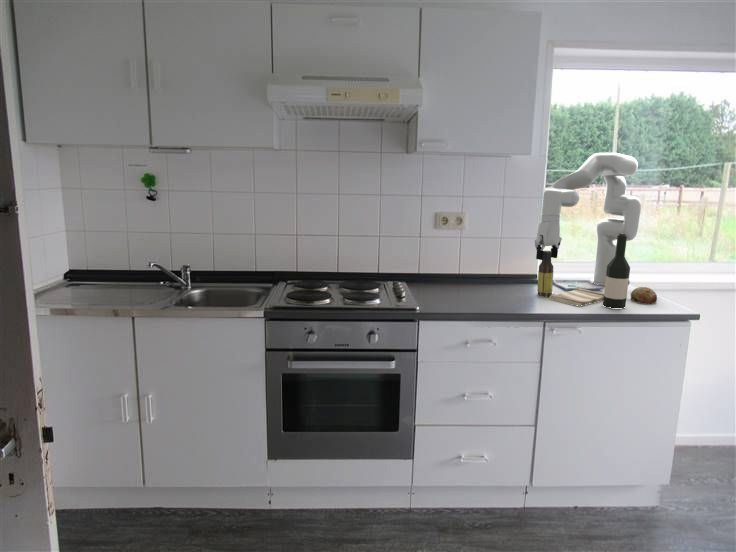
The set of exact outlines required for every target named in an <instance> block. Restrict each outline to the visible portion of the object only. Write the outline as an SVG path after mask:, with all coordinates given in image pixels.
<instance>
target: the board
mask: <svg viewBox="0 0 736 552" xmlns="http://www.w3.org/2000/svg"><path fill="white" fill-rule="evenodd" d="M603 298H604V292H599V291H596V290H595V291H594V290H589V289H585V288H580V287H579V288H576V289H573V290H570V291H565V292H561V293H557V294H555V293H554V294H553V293H552V295H550V297H549V300H552V301H555V302H559V303H562V302H563V304H566V303H568V305H570V304H573V305H572V306H574V305H578V306H581V305H584V306H586V305H585V304H588V305H590V304H589V303H592V304H594V302H596V303H599V302H603ZM598 301H599V302H598ZM578 306H577V307H578ZM581 307H582V306H581Z"/></svg>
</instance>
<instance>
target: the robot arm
mask: <svg viewBox="0 0 736 552" xmlns="http://www.w3.org/2000/svg"><path fill="white" fill-rule="evenodd" d="M638 167H639V163H638V161H637V158H635V157H633V156H631V155H627V154H623V153H619V152H596V153H593V154H592V155H590V156H589V157H588V158H587V160H585V161H584V163H583V164H582V165H581V166H580V167H579V168H578V169H577V170H576V171H574V172H572V173H570V174H567V175H565V176H563V177H561V178H559V179H557V180H556V181H555V182H554V183H553V184H552V185H551V186H549V188H548V189H546V190H544V192H543V198H542V199H543V200H542V207H541V209H542V210H541V218H540V219H541V220H540V222H539V226H538V229H537V234H536V239H535V240H534V245H535V250H536V256H535V260H539V261H542V260H543V256H544V251H545V248H546V247H549V246H550V251H552V255H551V259H557V258H558V254H559V253H558V252H559V249H560V247H561V246H560V245H561V243H562V240H563V238H562V237H561V236H560V235H561V225H560V224H561V223H560V222H561V214H562V212H561V211H562V208H571V207H575V206H576V205H577V204H578V203H579V201H580V195H579V193H578V192H577V191H576V190H577V189H582V188H586V187H590V186H591V185H592V183H594V182H595V181H596V179H598V178H599V176H600V175H602V177H603V178H604V181H605V185H606V187H605V195H604V201H603V212H604V213H605V214H607V215H609V216H616V217H623V219H622V218H621V219H620V218H613V217H605V218H603V219H600V220H599V221H598V224H597V227H596V233H597V234H596V235H597V248H596V254H595V255H596V256H595V263H594V264H595V266H594V276H593V278H590V280H589V282H590V281H591V282H593V283H595V284H594V285H596V284H598V285H597V286H601V287H605V281H606V272H607V265H608V264H609V263H610V262H611V260H612V259H613V258H614V257H615V253H616V244H617V236H618V235H619V233H625V234H626V236H627V241H626V242H630V241H632V240H634V239H635V238H636V236H637V233H638V229H639V223H640V216H641V210H642V203H641V200H640V199H639V198H638V197H637V196H634V195H626V194H627V193H626V192H627V181H626V179H625V177H631V176H634V175H635V173H637V171H638ZM591 282H590V283H591Z"/></svg>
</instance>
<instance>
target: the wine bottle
mask: <svg viewBox="0 0 736 552" xmlns="http://www.w3.org/2000/svg"><path fill="white" fill-rule="evenodd" d="M616 240H617V244H616V253H615V257H614V258H613V259H612V260H611V262H610V263H609V264H608V265H607V272H606V281H605V286H604V288H603V289H604V290H603V293H604V298H603V301H602V306H603V305H604V306H606V307H611V308H624V307H625V308H626V305H627V299H628V298H627V296H628V290H629V281H630V271H631V266H630V265H629V263H628V261H627V259H626V246H627V242H628V241H627V236H626V234H625V233H619V235H618V236H617V239H616ZM604 306H603V307H604ZM606 307H605V308H606ZM611 308H610V309H611ZM625 308H624V309H625Z"/></svg>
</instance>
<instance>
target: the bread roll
mask: <svg viewBox="0 0 736 552" xmlns="http://www.w3.org/2000/svg"><path fill="white" fill-rule="evenodd" d="M630 300H631V302H632V303H633V302H634V303H638V304H642V305H652V304H653V305H654V304H656V303H657V301H658V295H657V294H656V292H655V290H653V289H652V288H649V287H646V286H640V287H636V288H634V289H633V290H632V291H631V292H630Z"/></svg>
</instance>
